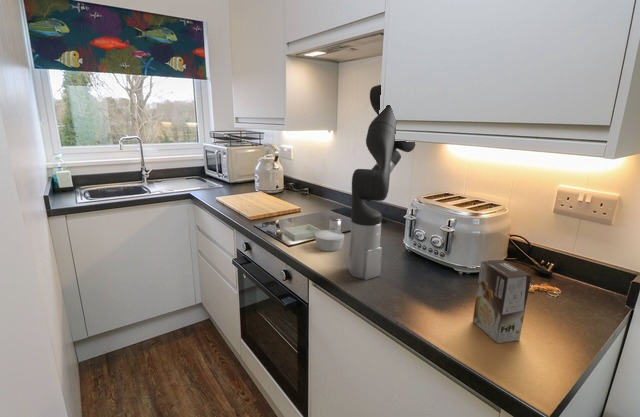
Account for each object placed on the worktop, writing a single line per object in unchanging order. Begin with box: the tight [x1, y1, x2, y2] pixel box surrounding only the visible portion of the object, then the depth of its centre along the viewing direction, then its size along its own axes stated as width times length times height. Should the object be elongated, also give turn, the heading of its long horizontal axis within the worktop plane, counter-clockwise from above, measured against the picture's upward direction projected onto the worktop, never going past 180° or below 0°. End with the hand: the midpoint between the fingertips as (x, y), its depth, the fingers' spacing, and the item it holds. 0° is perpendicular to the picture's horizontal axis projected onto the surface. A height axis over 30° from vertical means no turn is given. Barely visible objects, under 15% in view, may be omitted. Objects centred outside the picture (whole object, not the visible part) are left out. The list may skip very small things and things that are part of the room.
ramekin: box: [314, 229, 345, 253], centre depth 130 cm, size 11×11×5 cm
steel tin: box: [328, 215, 343, 233], centre depth 142 cm, size 5×5×8 cm
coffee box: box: [472, 259, 532, 344], centre depth 79 cm, size 9×6×16 cm
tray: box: [283, 223, 322, 242], centre depth 143 cm, size 10×13×2 cm
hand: (360, 198), depth 146 cm, fingers open, 8 cm apart
